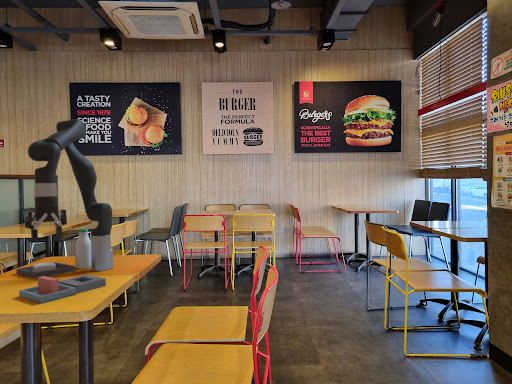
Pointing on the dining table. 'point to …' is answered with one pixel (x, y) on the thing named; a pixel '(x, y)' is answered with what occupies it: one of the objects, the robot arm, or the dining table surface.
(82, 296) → the dining table surface
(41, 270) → the charger
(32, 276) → the frame
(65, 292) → the tray
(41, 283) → the pink block
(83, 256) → the milk bottle
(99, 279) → the grey square-hole plate
